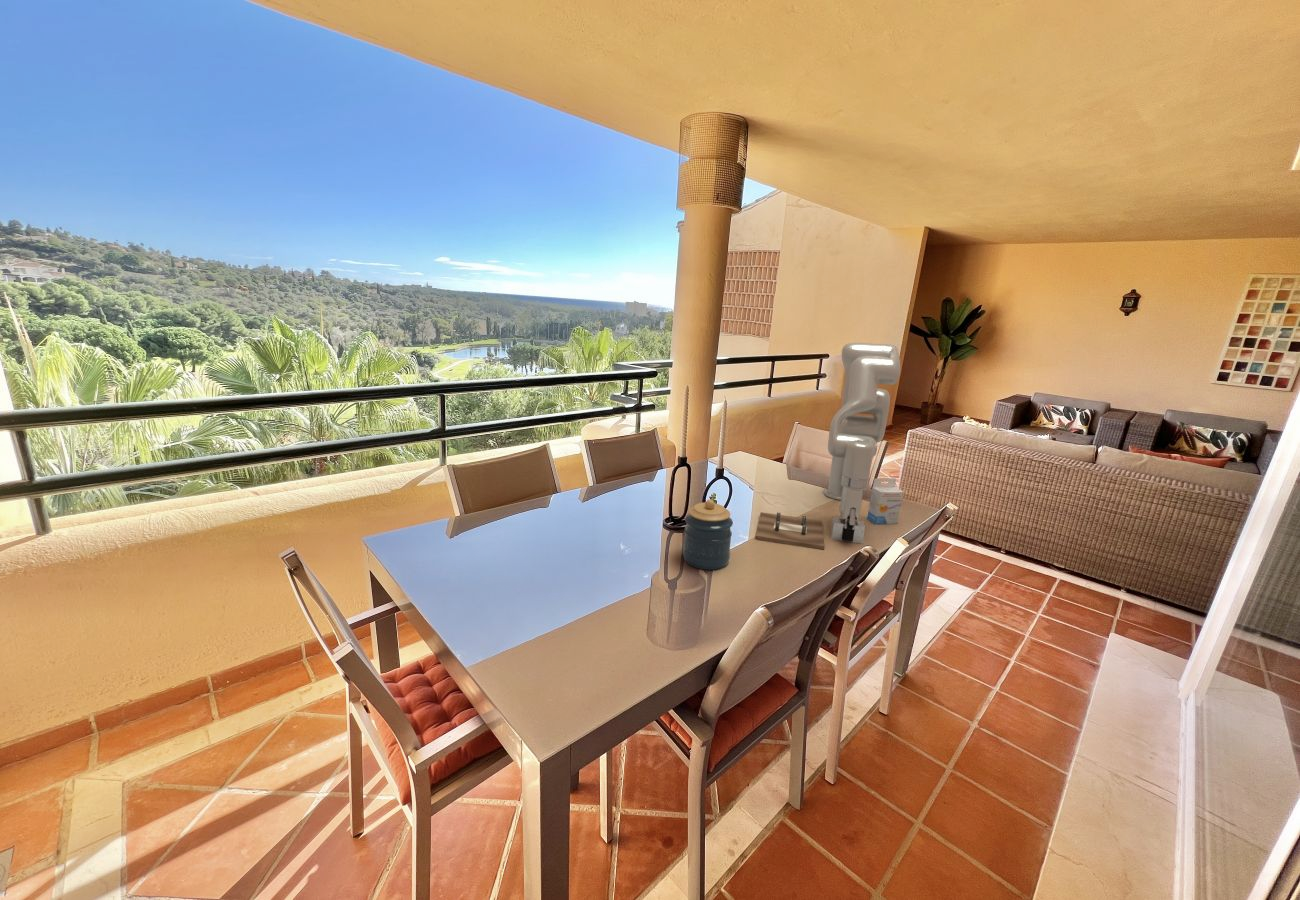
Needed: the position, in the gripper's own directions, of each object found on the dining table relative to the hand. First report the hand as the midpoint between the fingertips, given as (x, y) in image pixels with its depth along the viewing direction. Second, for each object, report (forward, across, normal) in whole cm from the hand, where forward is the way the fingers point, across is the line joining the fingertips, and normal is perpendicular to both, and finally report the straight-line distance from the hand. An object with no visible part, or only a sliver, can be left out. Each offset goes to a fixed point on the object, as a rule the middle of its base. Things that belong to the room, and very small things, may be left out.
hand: (846, 536), depth 156 cm
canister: (+1, +29, -39) cm, 49 cm away
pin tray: (+1, +1, -17) cm, 17 cm away
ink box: (+1, -19, +13) cm, 23 cm away
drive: (+1, 0, 0) cm, 1 cm away
